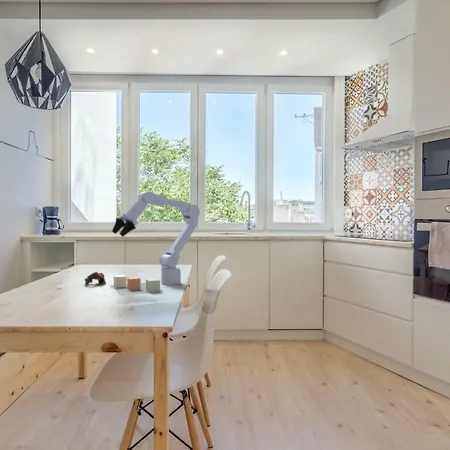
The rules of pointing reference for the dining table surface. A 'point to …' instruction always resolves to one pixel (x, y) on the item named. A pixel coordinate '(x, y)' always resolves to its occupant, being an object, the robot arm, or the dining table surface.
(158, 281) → the sage cube
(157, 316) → the dining table surface
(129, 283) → the terracotta cube
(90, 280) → the dark brown arched piece
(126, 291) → the board
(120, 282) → the cream cube
